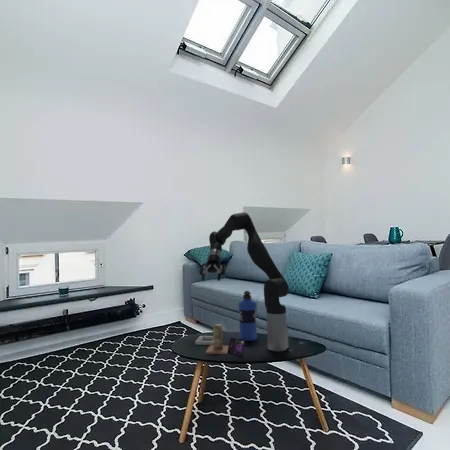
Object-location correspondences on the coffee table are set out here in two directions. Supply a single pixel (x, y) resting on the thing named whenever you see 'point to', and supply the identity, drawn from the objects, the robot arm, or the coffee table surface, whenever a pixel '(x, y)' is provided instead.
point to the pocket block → (200, 342)
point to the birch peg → (218, 337)
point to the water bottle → (247, 318)
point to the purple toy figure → (239, 346)
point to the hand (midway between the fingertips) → (210, 280)
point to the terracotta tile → (212, 351)
